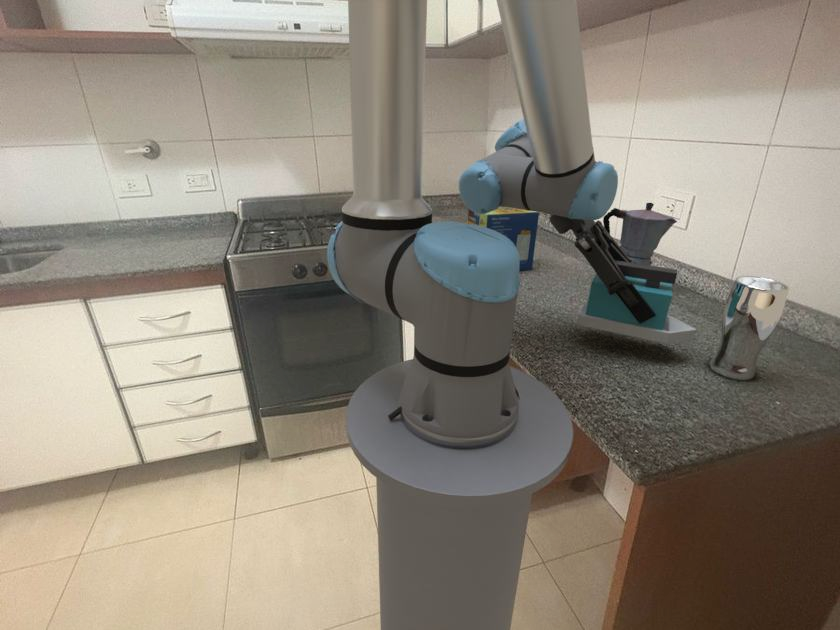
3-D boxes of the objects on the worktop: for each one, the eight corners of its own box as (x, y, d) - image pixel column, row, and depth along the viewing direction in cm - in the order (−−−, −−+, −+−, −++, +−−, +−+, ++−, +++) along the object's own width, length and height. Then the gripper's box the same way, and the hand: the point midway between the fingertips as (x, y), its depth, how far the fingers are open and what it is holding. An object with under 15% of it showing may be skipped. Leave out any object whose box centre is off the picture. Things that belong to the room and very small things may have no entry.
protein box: (464, 263, 122) (467, 206, 116) (512, 258, 127) (518, 204, 120) (481, 275, 113) (486, 214, 107) (533, 269, 118) (540, 211, 112)
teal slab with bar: (576, 324, 77) (588, 264, 72) (584, 309, 83) (595, 253, 79) (694, 350, 69) (715, 284, 65) (692, 331, 76) (711, 270, 71)
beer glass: (696, 361, 74) (722, 276, 67) (730, 357, 75) (760, 274, 69) (730, 384, 67) (763, 292, 61) (768, 379, 69) (804, 289, 63)
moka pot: (663, 295, 102) (686, 208, 94) (593, 288, 106) (609, 203, 97) (655, 282, 110) (676, 201, 102) (590, 275, 114) (605, 196, 106)
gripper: (573, 196, 64) (670, 321, 64) (593, 182, 80) (670, 281, 80) (532, 228, 69) (623, 345, 68) (559, 208, 85) (632, 303, 84)
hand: (648, 310), depth 74 cm, fingers closed on teal slab with bar, 7 cm apart
